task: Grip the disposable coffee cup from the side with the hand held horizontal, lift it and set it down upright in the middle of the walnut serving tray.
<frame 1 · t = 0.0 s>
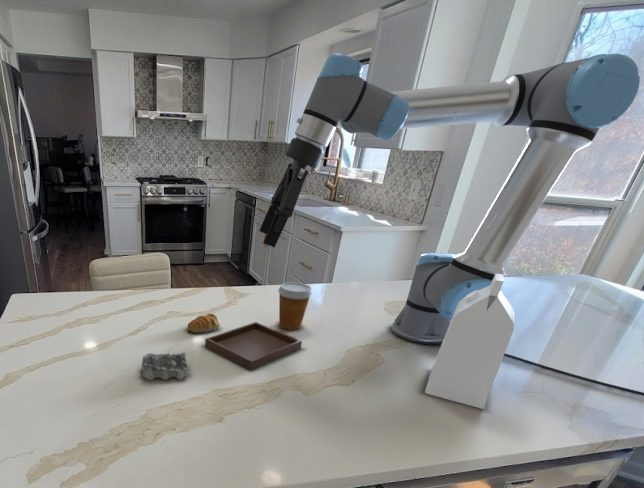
hand: (266, 238, 102), 28 cm above the counter, tool tilted 20°, fingers open, 13 cm apart
pastry: (204, 329, 125), on the counter
serving tray: (252, 347, 115), on the counter
milk: (454, 389, 98), on the counter
disposable coffee cup: (289, 326, 128), on the counter
egg carton: (164, 373, 102), on the counter
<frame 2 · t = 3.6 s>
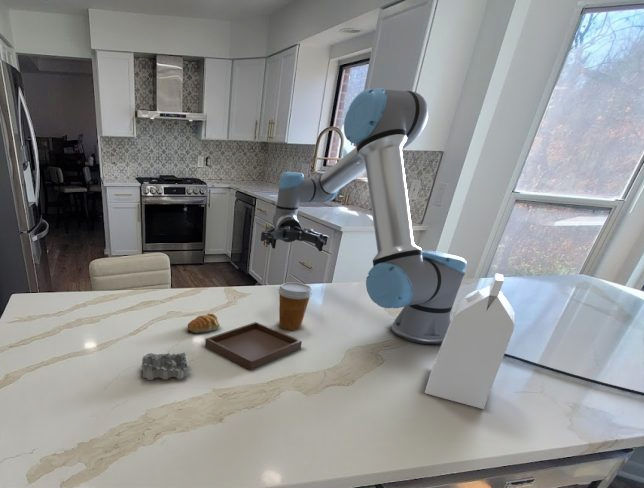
hand: (297, 245, 124), 22 cm above the counter, tool horizontal, fingers open, 13 cm apart
nothing on the counter moved.
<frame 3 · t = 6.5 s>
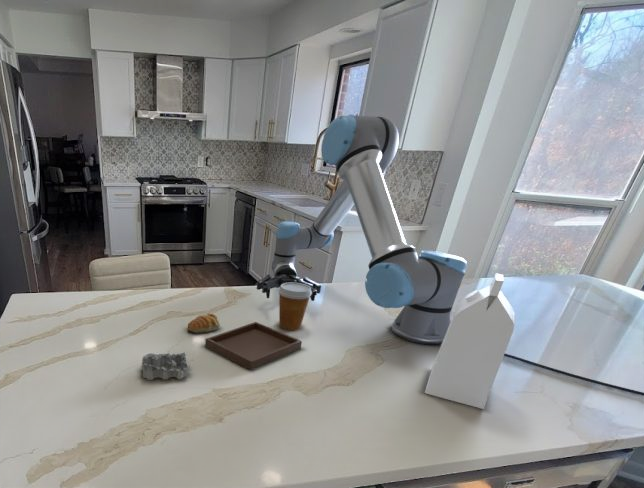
hand: (291, 295, 131), 7 cm above the counter, tool horizontal, fingers open, 13 cm apart
nothing on the counter moved.
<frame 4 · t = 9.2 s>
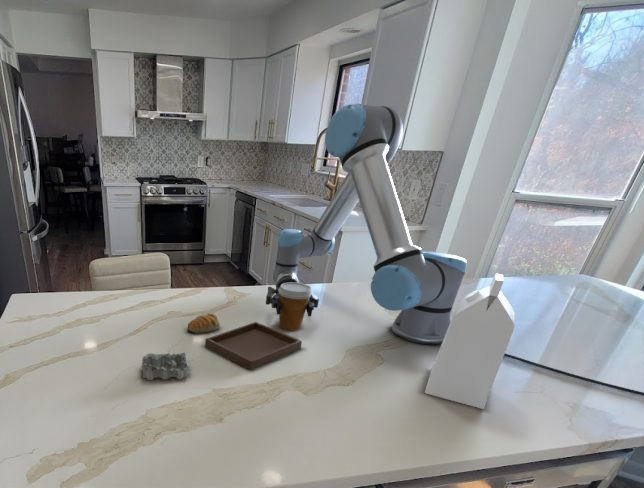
hand: (294, 310, 121), 7 cm above the counter, tool horizontal, fingers closed on disposable coffee cup, 8 cm apart
disposable coffee cup: (289, 326, 128), on the counter, touching gripper
everything else where it was.
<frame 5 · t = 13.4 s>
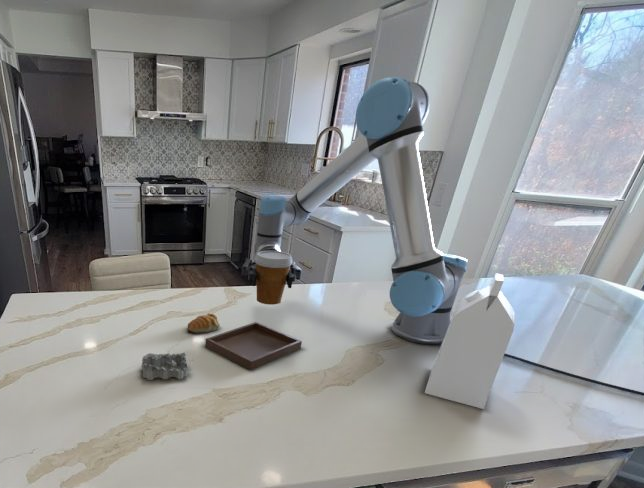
hand: (272, 281, 106), 18 cm above the counter, tool horizontal, fingers closed on disposable coffee cup, 8 cm apart
disposable coffee cup: (268, 301, 113), point 11 cm above the counter, touching gripper
everything else where it was.
when the fingers open (7 cm above the counter, at t = 17.5 s): disposable coffee cup stays where it is, resting on serving tray.
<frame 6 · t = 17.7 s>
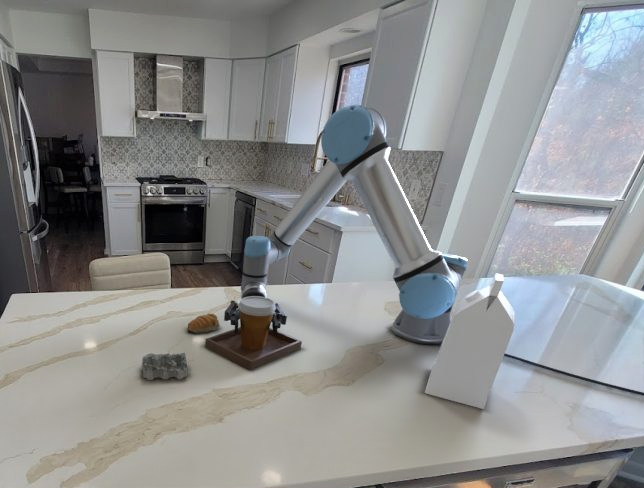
hand: (256, 329, 107), 7 cm above the counter, tool horizontal, fingers open, 9 cm apart
disposable coffee cup: (252, 345, 114), point 1 cm above the counter, touching serving tray
everything else where it was.
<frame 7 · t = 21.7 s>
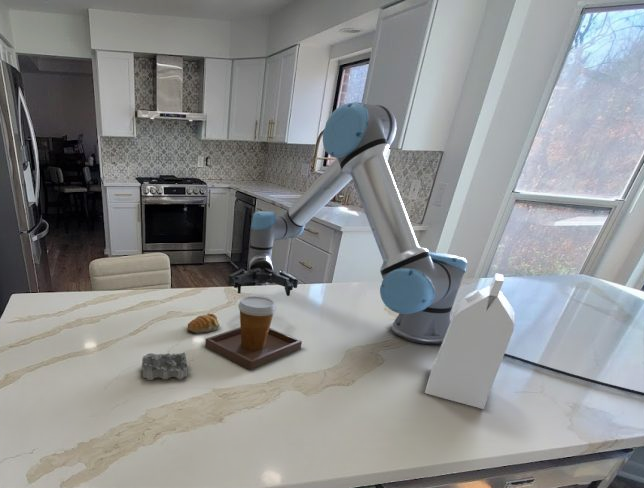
hand: (264, 289, 118), 12 cm above the counter, tool horizontal, fingers open, 13 cm apart
nothing on the counter moved.
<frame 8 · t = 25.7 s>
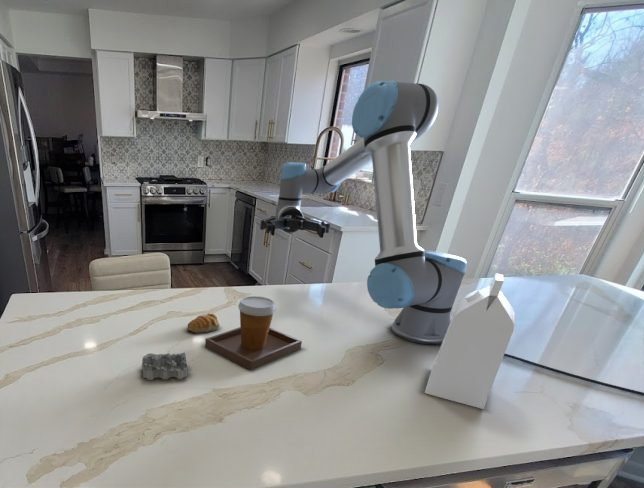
hand: (297, 231, 120), 26 cm above the counter, tool horizontal, fingers open, 13 cm apart
nothing on the counter moved.
at the end: disposable coffee cup inside the target area in the serving tray (0.1 cm from its centre), point 0.6 cm above the serving tray's base; disposable coffee cup tilted 0°; the gripper is holding nothing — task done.
